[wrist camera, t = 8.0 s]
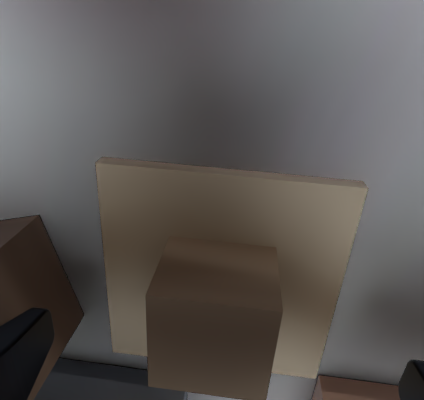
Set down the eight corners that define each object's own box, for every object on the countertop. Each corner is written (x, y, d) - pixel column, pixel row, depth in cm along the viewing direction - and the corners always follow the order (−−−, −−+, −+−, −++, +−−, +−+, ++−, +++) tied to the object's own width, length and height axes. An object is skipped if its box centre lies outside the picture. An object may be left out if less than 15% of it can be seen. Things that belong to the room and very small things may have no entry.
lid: (311, 354, 13) (330, 460, 10) (122, 330, 13) (80, 423, 10) (357, 174, 10) (407, 242, 6) (109, 151, 10) (44, 205, 7)
